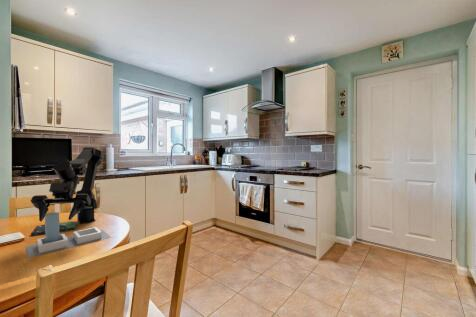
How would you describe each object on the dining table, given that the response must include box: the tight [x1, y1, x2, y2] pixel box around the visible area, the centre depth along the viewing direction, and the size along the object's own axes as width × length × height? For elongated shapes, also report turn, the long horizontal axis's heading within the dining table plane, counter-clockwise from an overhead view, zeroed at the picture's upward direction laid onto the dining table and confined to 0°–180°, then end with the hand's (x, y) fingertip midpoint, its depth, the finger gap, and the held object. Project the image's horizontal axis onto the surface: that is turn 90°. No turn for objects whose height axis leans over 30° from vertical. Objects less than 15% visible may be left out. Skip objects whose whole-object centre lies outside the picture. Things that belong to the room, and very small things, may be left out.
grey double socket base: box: [25, 226, 112, 259], centre depth 87 cm, size 25×12×4 cm, turn 136°
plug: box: [44, 211, 60, 244], centre depth 83 cm, size 4×4×12 cm
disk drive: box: [30, 220, 78, 237], centre depth 100 cm, size 10×3×15 cm
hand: (55, 220), depth 85 cm, fingers open, 9 cm apart
